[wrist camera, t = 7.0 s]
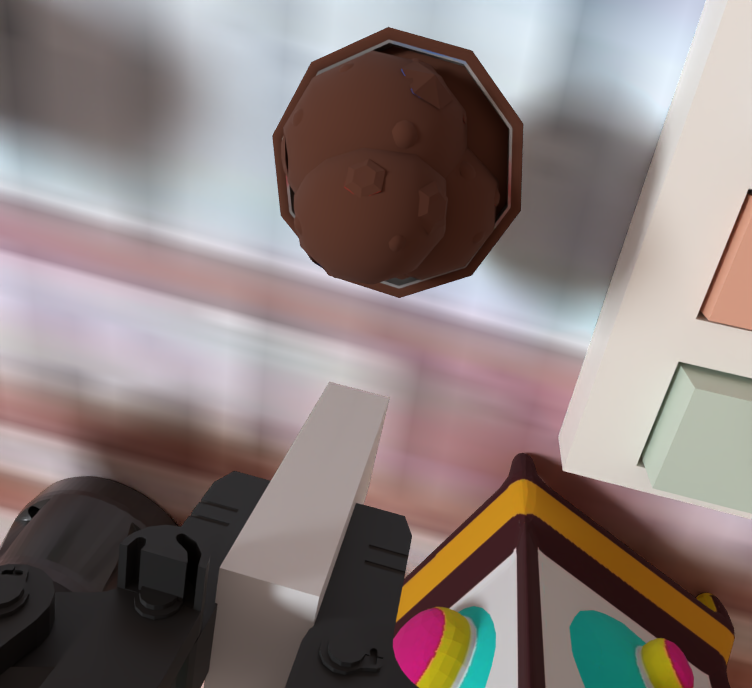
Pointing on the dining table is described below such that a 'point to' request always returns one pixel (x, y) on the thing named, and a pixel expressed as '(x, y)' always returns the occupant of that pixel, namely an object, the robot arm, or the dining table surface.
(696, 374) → the sage key
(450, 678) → the decorative lantern
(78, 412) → the dining table surface
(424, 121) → the ice cream bowl
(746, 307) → the terracotta key
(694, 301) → the console
